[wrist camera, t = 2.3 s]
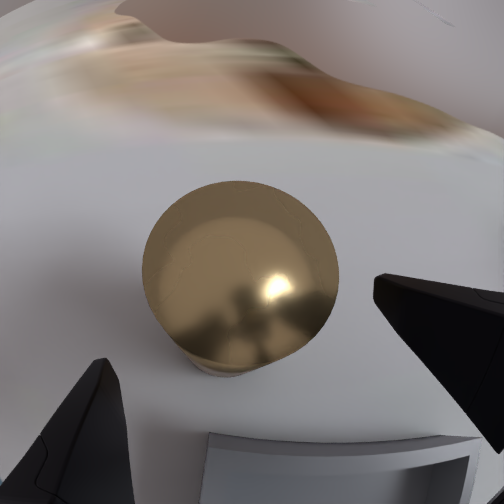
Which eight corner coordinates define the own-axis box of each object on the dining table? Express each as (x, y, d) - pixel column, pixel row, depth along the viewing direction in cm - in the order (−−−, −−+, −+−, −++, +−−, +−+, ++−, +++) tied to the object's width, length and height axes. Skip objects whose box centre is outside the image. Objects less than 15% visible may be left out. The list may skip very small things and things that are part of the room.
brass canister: (263, 383, 17) (332, 377, 7) (173, 368, 17) (120, 341, 7) (274, 299, 19) (340, 200, 9) (190, 284, 19) (171, 168, 9)
